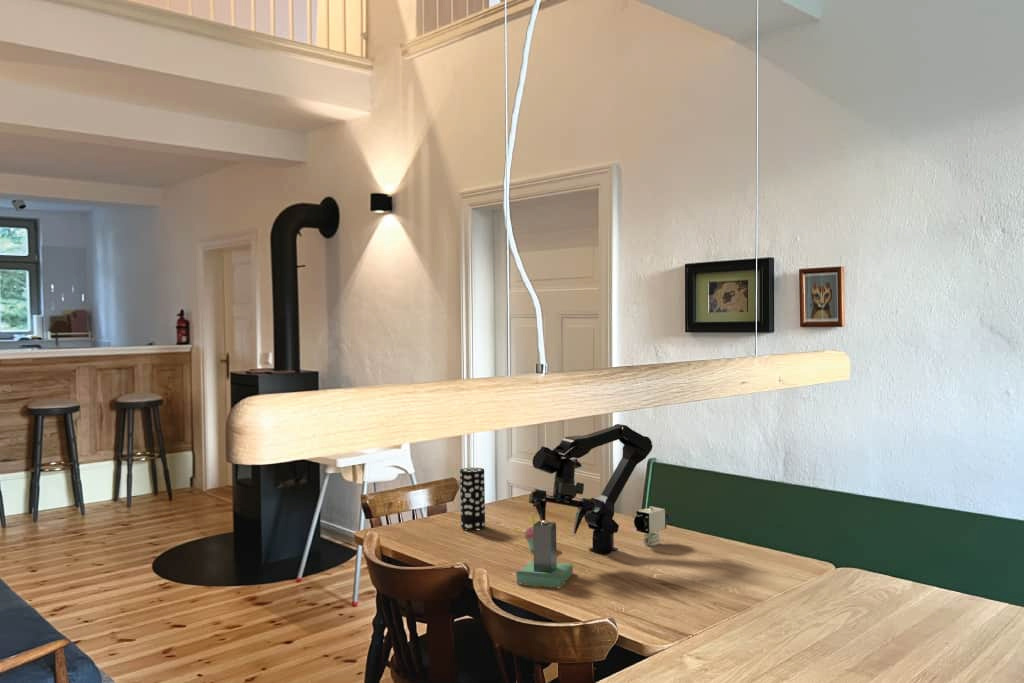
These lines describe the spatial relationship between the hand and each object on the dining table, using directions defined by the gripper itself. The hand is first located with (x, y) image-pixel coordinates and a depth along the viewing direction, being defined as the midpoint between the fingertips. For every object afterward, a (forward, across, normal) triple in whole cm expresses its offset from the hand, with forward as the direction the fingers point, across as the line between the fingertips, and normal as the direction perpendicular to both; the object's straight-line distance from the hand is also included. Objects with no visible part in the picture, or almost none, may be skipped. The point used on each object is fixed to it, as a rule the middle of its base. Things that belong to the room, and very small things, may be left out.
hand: (559, 530), depth 219 cm
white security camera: (-6, +33, +18) cm, 38 cm away
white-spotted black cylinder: (-9, -20, +49) cm, 54 cm away
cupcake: (+1, -1, +22) cm, 22 cm away
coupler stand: (+14, -3, -2) cm, 15 cm away
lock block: (+12, -4, -3) cm, 13 cm away
